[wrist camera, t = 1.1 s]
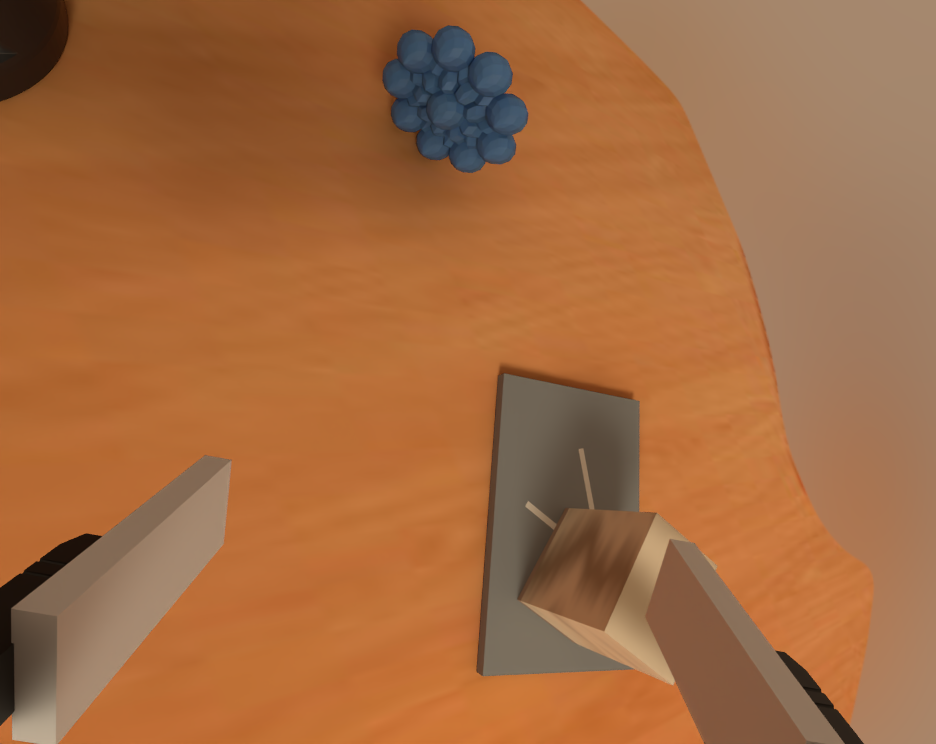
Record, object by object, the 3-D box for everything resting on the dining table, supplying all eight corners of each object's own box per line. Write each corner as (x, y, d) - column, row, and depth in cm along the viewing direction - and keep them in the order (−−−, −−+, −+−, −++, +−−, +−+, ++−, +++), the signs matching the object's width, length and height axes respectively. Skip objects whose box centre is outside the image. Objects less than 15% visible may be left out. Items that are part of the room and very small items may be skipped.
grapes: (500, 172, 48) (580, 81, 37) (459, 217, 45) (533, 133, 34) (403, 73, 46) (460, -54, 35) (353, 114, 43) (398, -11, 32)
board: (498, 375, 44) (503, 373, 43) (631, 402, 49) (639, 401, 48) (476, 671, 38) (482, 676, 37) (630, 665, 43) (638, 669, 42)
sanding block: (565, 507, 43) (656, 512, 34) (616, 550, 44) (717, 565, 35) (517, 599, 39) (604, 631, 30) (573, 642, 41) (673, 685, 32)
